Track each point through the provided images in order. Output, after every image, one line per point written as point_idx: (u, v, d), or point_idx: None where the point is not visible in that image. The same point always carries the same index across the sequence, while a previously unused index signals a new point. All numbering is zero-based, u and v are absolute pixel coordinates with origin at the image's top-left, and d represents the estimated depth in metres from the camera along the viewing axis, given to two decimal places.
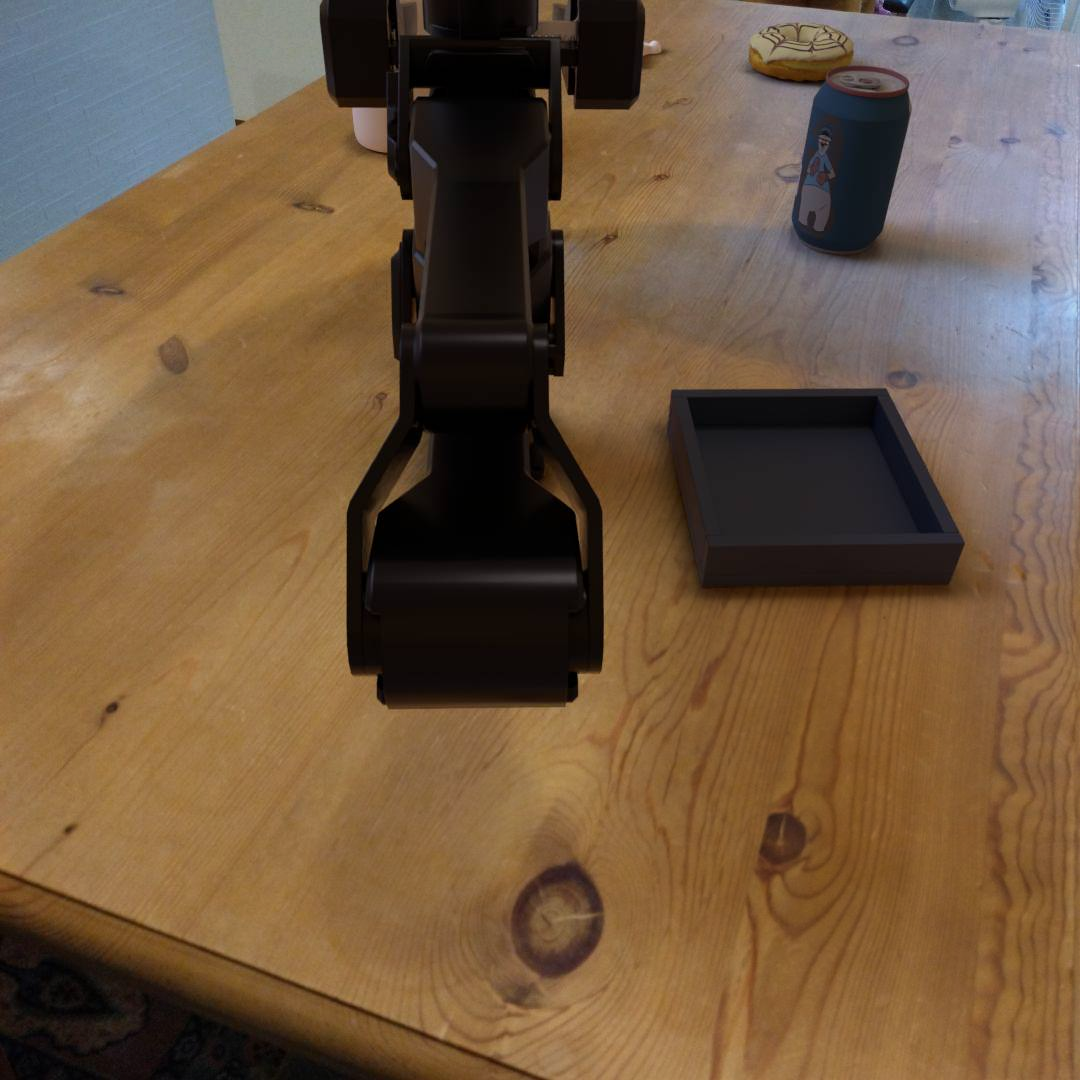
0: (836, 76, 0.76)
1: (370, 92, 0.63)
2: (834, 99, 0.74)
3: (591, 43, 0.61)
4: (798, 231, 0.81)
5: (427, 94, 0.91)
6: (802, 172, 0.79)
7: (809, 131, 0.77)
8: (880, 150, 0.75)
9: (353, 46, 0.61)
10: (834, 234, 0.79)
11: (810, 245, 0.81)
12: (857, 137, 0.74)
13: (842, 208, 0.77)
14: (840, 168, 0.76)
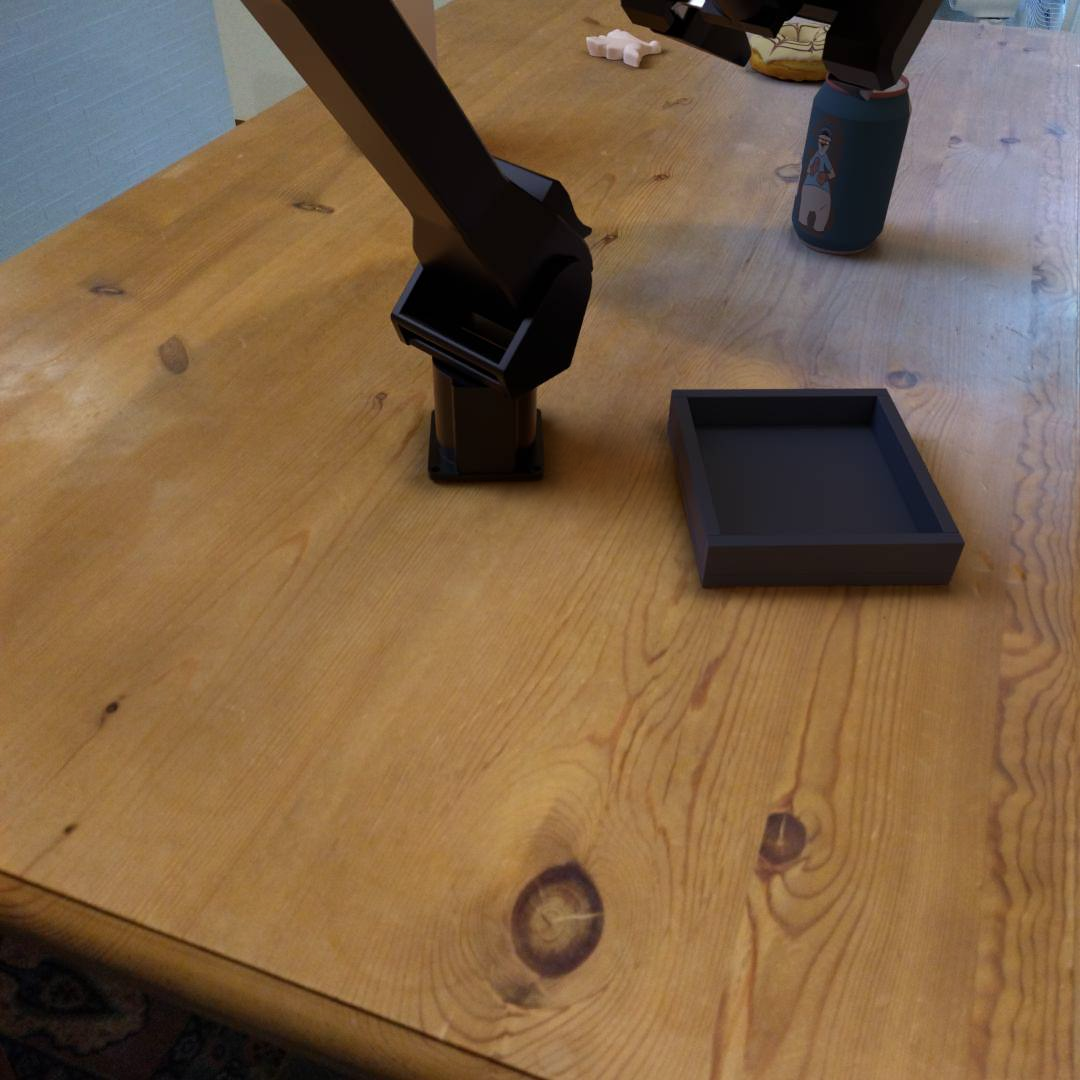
0: None
1: None
2: (834, 99, 0.74)
3: None
4: (798, 231, 0.81)
5: None
6: (802, 172, 0.79)
7: (809, 131, 0.77)
8: (880, 150, 0.75)
9: None
10: (834, 234, 0.79)
11: (810, 245, 0.81)
12: (857, 137, 0.74)
13: (842, 208, 0.77)
14: (840, 168, 0.76)
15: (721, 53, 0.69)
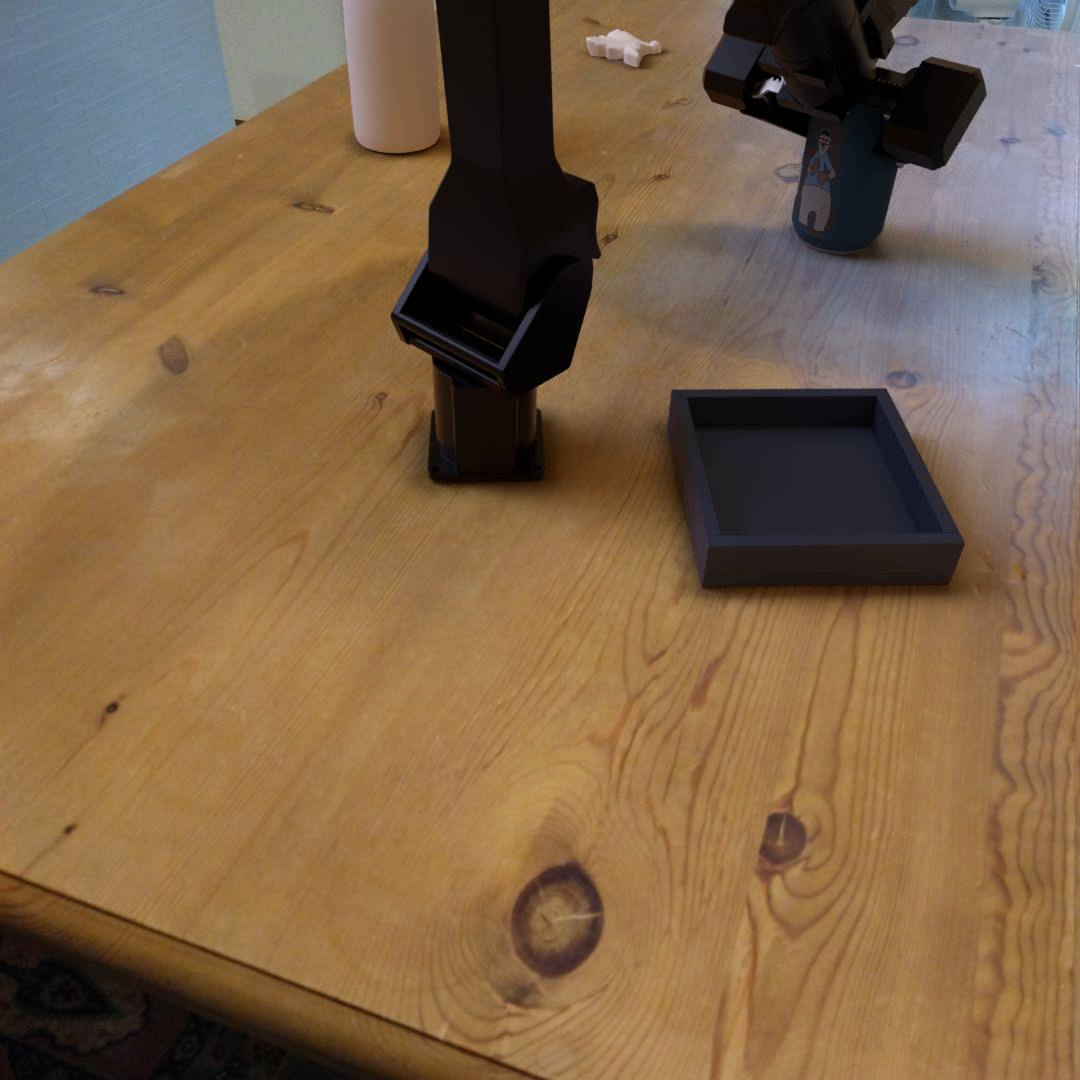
0: None
1: (731, 72, 0.74)
2: None
3: (923, 80, 0.67)
4: (798, 231, 0.81)
5: (427, 94, 0.91)
6: (802, 172, 0.79)
7: (809, 131, 0.77)
8: None
9: None
10: (834, 234, 0.79)
11: (810, 245, 0.81)
12: (857, 137, 0.74)
13: (842, 208, 0.77)
14: (840, 168, 0.76)
15: (799, 131, 0.78)
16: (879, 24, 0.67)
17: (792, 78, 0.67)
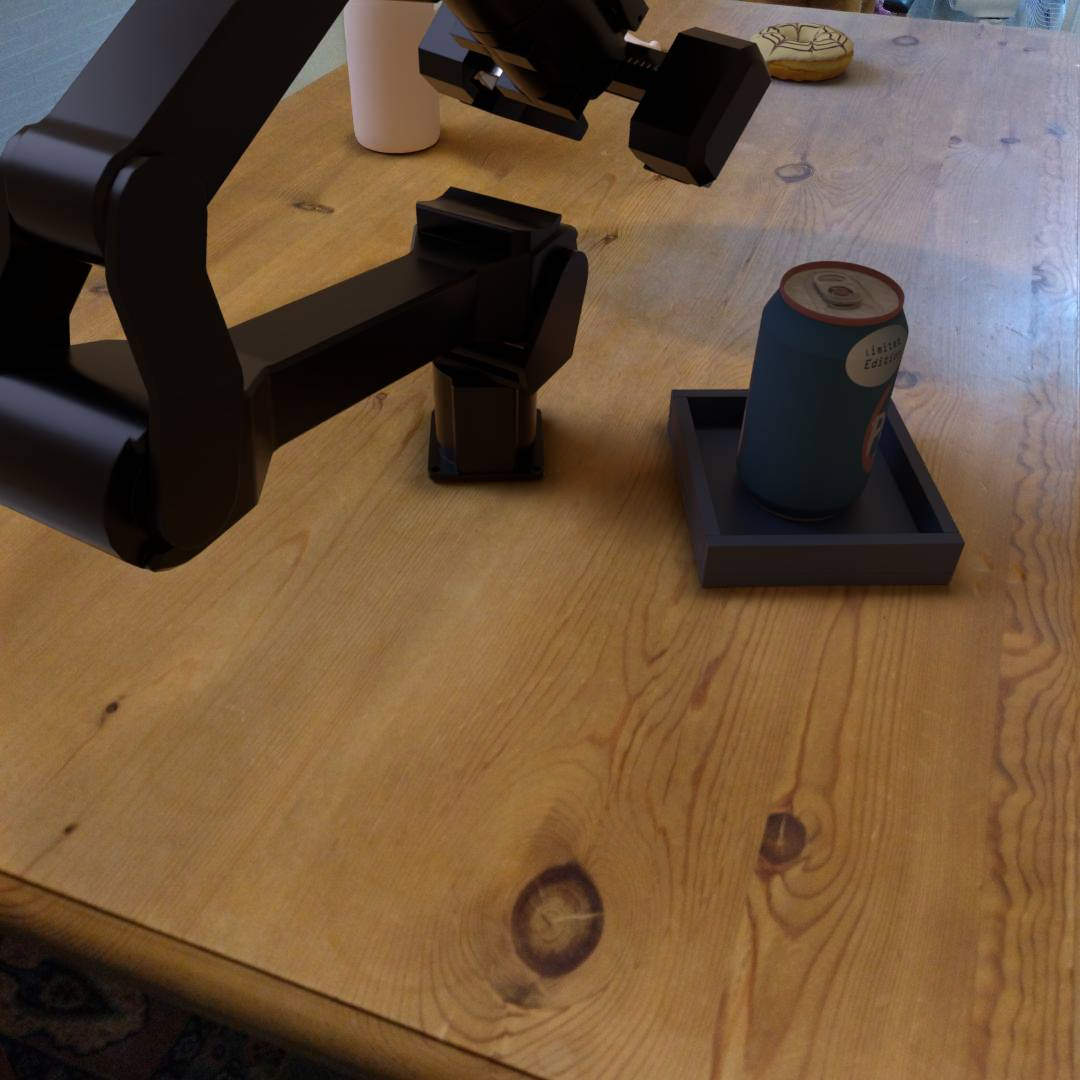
0: (839, 272, 0.52)
1: (447, 51, 0.54)
2: (777, 290, 0.51)
3: (678, 60, 0.47)
4: None
5: (427, 94, 0.91)
6: None
7: None
8: (785, 385, 0.50)
9: None
10: (741, 468, 0.56)
11: None
12: (763, 350, 0.51)
13: (747, 438, 0.54)
14: (752, 383, 0.53)
15: (546, 127, 0.59)
16: None
17: (495, 57, 0.48)
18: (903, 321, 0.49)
